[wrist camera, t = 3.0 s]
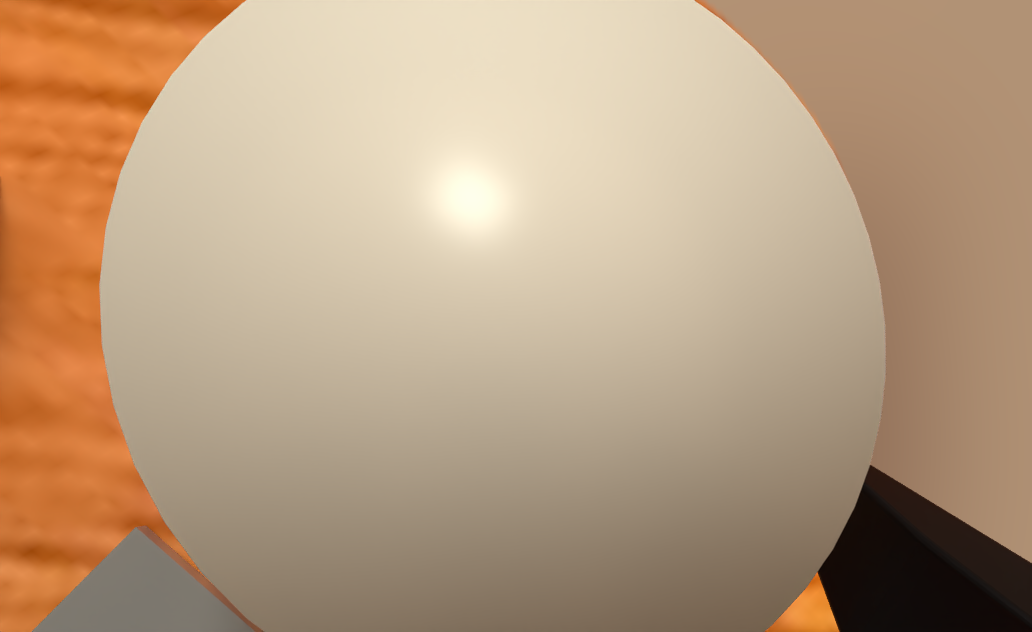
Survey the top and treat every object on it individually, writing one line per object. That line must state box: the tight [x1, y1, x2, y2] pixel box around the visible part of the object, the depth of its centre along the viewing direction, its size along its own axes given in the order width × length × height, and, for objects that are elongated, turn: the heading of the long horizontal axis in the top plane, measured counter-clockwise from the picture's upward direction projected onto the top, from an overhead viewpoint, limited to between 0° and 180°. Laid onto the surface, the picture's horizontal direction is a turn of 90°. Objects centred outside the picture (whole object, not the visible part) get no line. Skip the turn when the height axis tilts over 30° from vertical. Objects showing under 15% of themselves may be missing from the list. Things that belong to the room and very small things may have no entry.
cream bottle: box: [100, 0, 886, 632], centre depth 11 cm, size 5×5×12 cm
